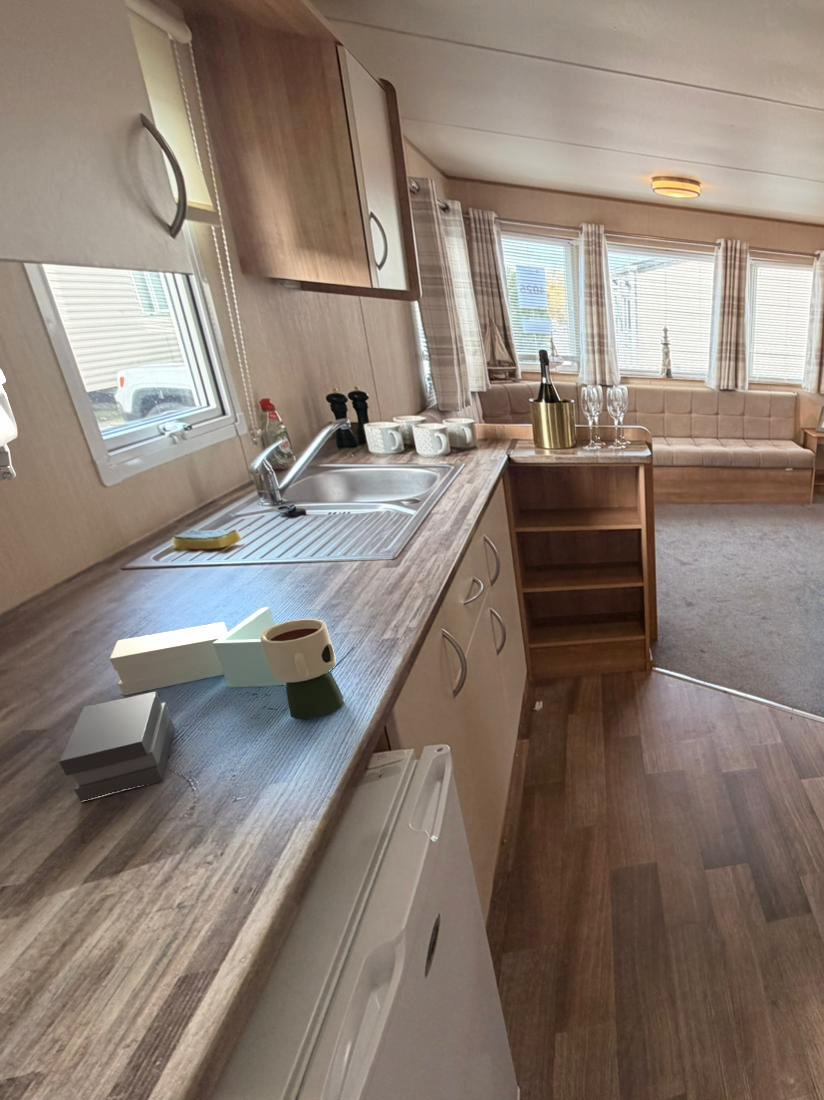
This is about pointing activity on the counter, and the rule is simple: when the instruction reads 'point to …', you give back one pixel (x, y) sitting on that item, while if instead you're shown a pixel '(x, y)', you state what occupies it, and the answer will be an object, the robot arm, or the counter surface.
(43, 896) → the counter surface
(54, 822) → the counter surface
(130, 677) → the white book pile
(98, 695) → the counter surface
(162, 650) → the cream flat block
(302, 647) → the character mug
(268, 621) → the l-shaped corner panel
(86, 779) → the grey book pile
